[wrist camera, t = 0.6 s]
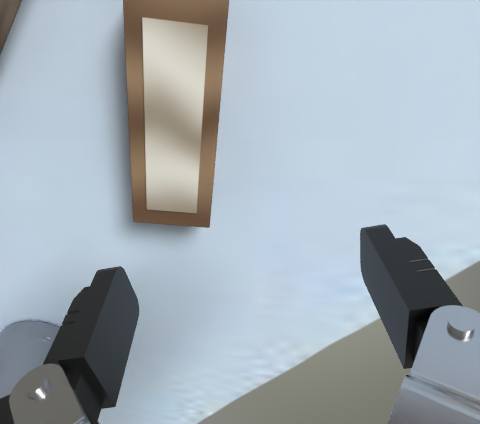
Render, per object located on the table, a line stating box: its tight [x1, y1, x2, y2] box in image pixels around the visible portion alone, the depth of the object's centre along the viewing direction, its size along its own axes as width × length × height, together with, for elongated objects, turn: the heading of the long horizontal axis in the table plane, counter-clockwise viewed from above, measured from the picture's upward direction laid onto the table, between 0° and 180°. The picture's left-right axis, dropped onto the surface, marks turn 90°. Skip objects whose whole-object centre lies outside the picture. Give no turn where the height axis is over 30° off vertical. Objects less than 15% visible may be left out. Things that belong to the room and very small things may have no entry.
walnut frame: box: [123, 0, 229, 228], centre depth 27 cm, size 16×6×5 cm, turn 173°
